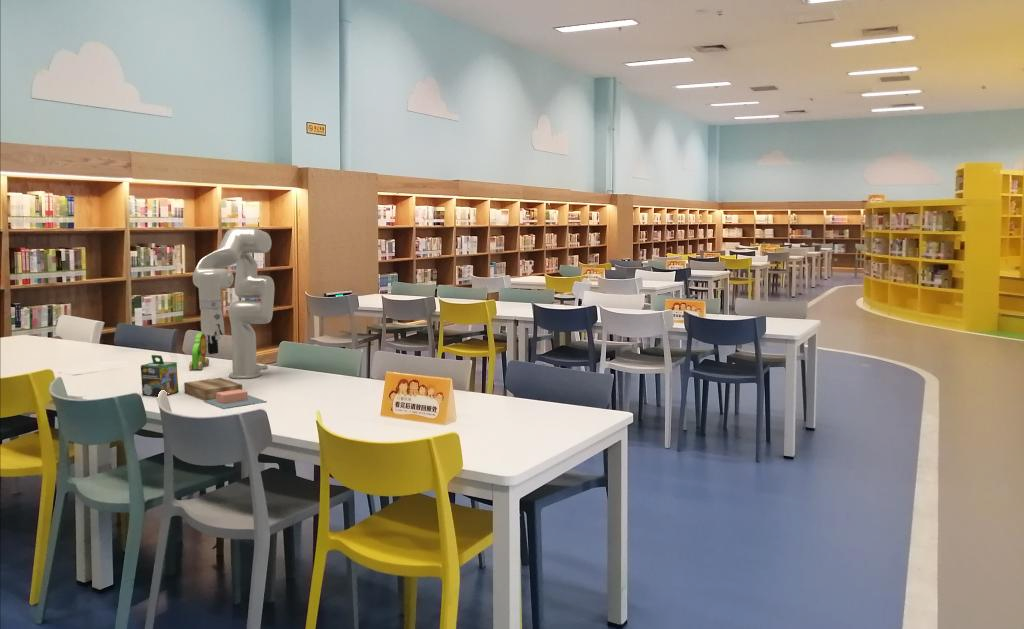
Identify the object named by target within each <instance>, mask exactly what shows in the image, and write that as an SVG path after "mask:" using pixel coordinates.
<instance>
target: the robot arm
mask: <svg viewBox="0 0 1024 629" xmlns="http://www.w3.org/2000/svg"><path fill="white" fill-rule="evenodd" d="M271 248H272V239H271V236H270V235H269V233H268V232H266V231H264V230H261V229H258V228H253V227H252V228H251V227H233V228H230V229H228V230H227V231H226V232H225V234H224V235H223V238H222V240H221V242H220V244H219V245H218V248H217V249H216V250H214V251H213V252H210V253H208V254H207V255H205V256H204V257H202V258H201V259H200V260H199V261H198V263H197V265H196V267H195V269H194V271H193V274H192V283H193V285H194V286H195V287H196V288H198V299H199V301H198V302H199V310H200V330H201V333H204V335H205V336H206V344H207V353H208V354H209V355H215V354H219V340H221V336H224V335H225V331H226V330H225V322H224V316H223V311H222V292H221V289H223V290H224V289H225V290H226V289H229V288H230V287H231V286H233V282H234V293H235V296H236V297H238V298H241V299H242V298H243V299H260V300H235V301H232V302H231V303H230V304H229V306H228V313H227V314H228V317H229V322H230V330H231V356H232V357H231V360H232V372H230V373H229V374H228V377H229V378H231V379H237V380H238V379H241V380H242V379H253V378H258V377H260V376H261V375H262V374H261V373H262V372H261V371H265V370H268V368H269V366H268V365H267V364H263V365H262V364H258V363H257V336H256V331H255V330H254V328H253V327H252V326H251V325H253V324H254V325H259V324H260V325H261V324H262V325H263V324H264V325H266V324H269V323H271V321H272V319H273V313H274V303H275V302H274V301H275V282H274V279H273V278H272V277H271V276H269V275H258V268H259V267H258V265H259V264H258V262H257V261H256V259H255V258H254V256H253V255H252V254H253V253H254V254H265V253H269V251H270V250H271ZM235 264H236V265H235ZM232 265H235V267H236V268H235V278H234V274H233V272H232V271H231V270H230V269H228V268H227V267H230V266H232Z"/></svg>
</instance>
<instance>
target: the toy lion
mask: <svg viewBox="0 0 1024 629" xmlns="http://www.w3.org/2000/svg"><path fill="white" fill-rule="evenodd" d="M207 349H208V343H207V338H206V336H205V335H204V333H202V332H197V333H196V335H195V339H194V344H193V346H192V349H191V361H189V363H188V364H189V365H188V368H189V370H190V371H193V370H195V369H198V370H199V371H203V368H204V366H205V367H209V365H210V359H209V358H207V357H206V355H207V354H206V353H207Z"/></svg>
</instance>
